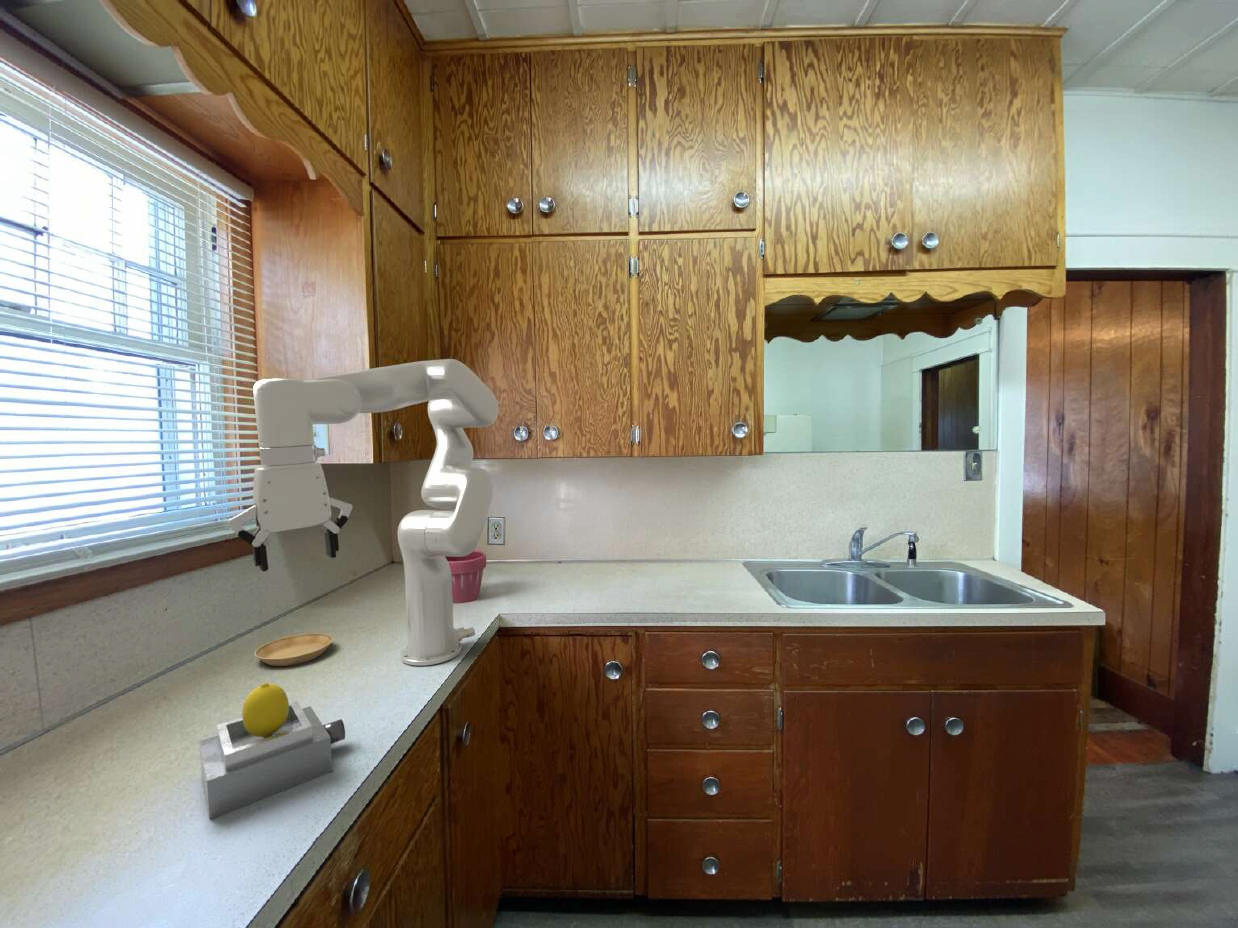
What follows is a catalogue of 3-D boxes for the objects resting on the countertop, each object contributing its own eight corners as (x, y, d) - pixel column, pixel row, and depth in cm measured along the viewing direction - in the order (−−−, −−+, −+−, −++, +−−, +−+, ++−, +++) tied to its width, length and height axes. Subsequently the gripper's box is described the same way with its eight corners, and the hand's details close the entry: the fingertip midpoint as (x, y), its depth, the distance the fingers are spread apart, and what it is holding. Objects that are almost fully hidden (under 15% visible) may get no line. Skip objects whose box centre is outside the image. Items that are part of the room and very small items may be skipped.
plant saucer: (265, 649, 122) (265, 638, 122) (337, 639, 127) (337, 628, 127) (246, 676, 108) (245, 663, 108) (327, 663, 113) (327, 651, 113)
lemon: (268, 750, 73) (264, 693, 73) (233, 747, 74) (230, 691, 74) (299, 728, 78) (296, 675, 78) (266, 725, 79) (263, 673, 79)
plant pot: (485, 604, 151) (483, 559, 150) (433, 607, 148) (431, 562, 148) (489, 589, 165) (488, 548, 164) (442, 592, 163) (440, 551, 162)
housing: (332, 729, 87) (330, 687, 87) (354, 761, 78) (352, 715, 78) (201, 775, 76) (198, 727, 76) (209, 819, 67) (205, 765, 67)
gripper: (340, 452, 93) (348, 548, 95) (217, 461, 82) (230, 570, 83) (354, 454, 88) (362, 555, 90) (225, 464, 76) (237, 580, 78)
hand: (298, 562), depth 87 cm, fingers open, 9 cm apart
